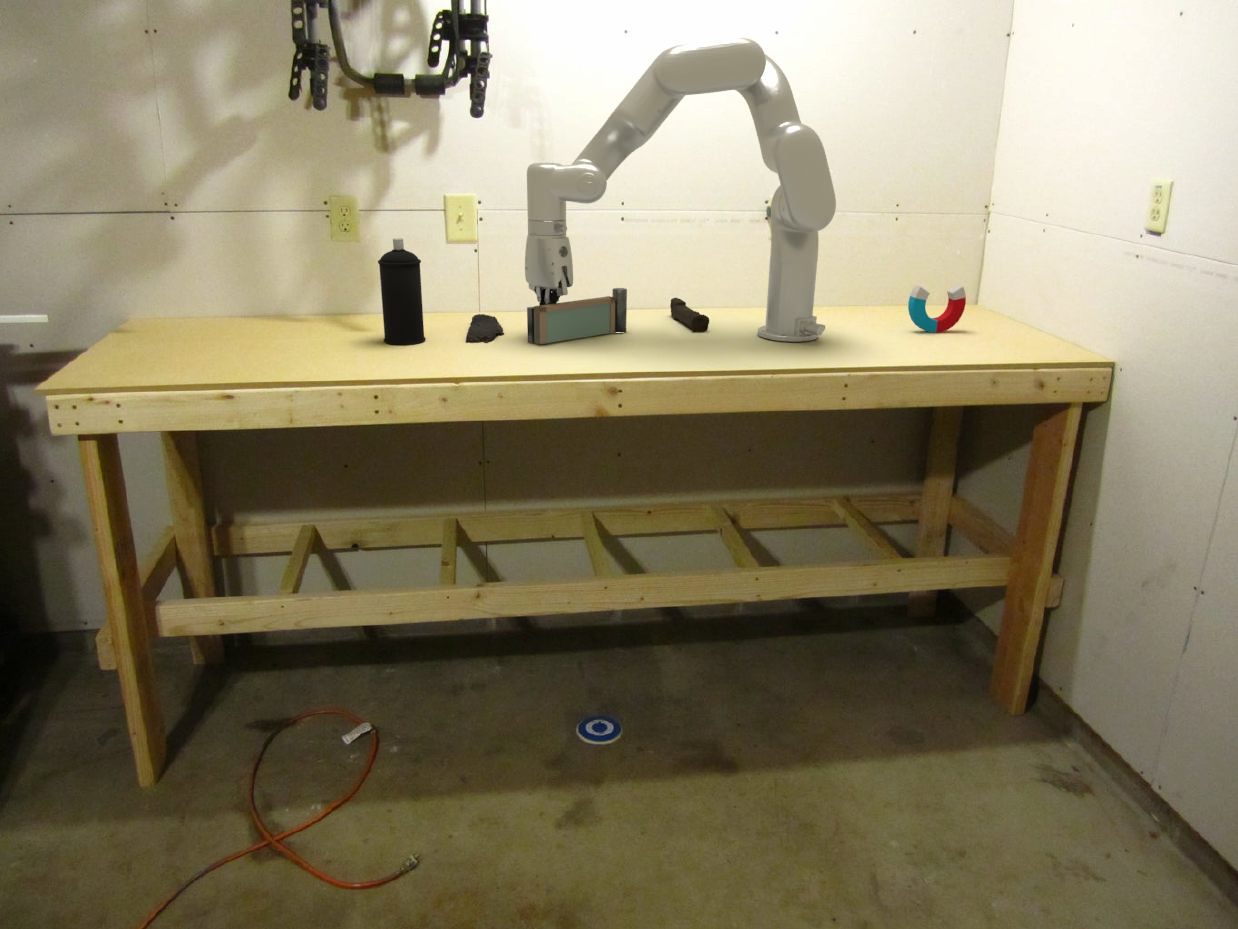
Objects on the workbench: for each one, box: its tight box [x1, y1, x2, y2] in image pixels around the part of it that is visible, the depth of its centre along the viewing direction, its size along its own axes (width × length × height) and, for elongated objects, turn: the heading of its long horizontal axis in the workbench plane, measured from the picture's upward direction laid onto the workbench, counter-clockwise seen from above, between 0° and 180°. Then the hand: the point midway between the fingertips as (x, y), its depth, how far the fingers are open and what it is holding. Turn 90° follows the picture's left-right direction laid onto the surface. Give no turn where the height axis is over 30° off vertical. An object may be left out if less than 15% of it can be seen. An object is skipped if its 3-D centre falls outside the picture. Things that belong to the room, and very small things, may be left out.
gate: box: [533, 295, 615, 345], centre depth 190 cm, size 2×19×7 cm, turn 130°
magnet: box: [907, 284, 967, 334], centre depth 201 cm, size 12×3×10 cm, turn 97°
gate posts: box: [526, 287, 628, 344], centre depth 192 cm, size 3×23×9 cm, turn 124°
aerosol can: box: [377, 237, 426, 346], centre depth 184 cm, size 8×8×20 cm
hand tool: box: [669, 297, 710, 333], centre depth 207 cm, size 19×4×5 cm, turn 13°
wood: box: [465, 313, 505, 344], centre depth 197 cm, size 22×7×3 cm, turn 4°
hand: (548, 321), depth 190 cm, fingers closed
